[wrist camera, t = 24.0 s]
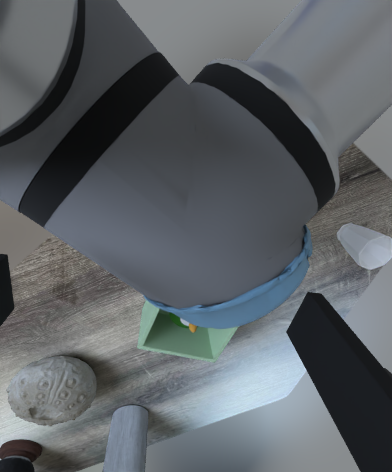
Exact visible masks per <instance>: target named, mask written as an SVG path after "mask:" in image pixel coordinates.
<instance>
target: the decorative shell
mask: <svg viewBox="0 0 392 472" xmlns="http://www.w3.org/2000/svg"><path fill="white" fill-rule="evenodd" d="M96 387H97V383H96V377H95V374H94V372H93V370H92V369H91V367H90V366H89V365H88V364H87V363H85V362H83V361H81V360H79V359H77V358H72V357H69V356H62V355H61V356H55V357H50V358H44V359H41V360H39V361H36V362H32V363H30V364H29V365H27V366H26V367H24V368H22V369H21V370H20V371H19V372H18V373H17V375H16V376H15V377H14V378H13V379H12V381H11V383H10V385H9V387H8V388H7V389H6V391H7V392H8V402H9V404H10V406H11V409H12V410H13V412H14V413H15V415H16V417H17V416H19V417H20V418H21V419H23V420H25V421H28V422H33V423H36V424H38V425H43V426H46V425H49V426H52V425H54V424H58V423H63V422H67V421H69V420H75V418H77V417H79V416H80V415H81V414H82V413H83V412H85V411H86V410H87V409H88V408H90V407H91V403H92V402H93V400H94V397H95V394H96Z"/></svg>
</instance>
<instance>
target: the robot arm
mask: <svg viewBox="0 0 392 472" xmlns="http://www.w3.org/2000/svg"><path fill="white" fill-rule="evenodd" d="M391 105H392V0H301V1H300V2H299V4H298V5H297V6H296V7H295V8H294V9H293V10H292V11H291V12H290V14H289V15H288V16H287V17H286V18H285V19H284V20H283V21H282V22H281V23H280V25H279V26H278V27H277V28H276V29H275V30H274V31H273V32H272V34H270V35H269V37H268V38H267V39H266V40H265V41H264V42H263V43H262V45H260V46H259V48H258V49H257V50H256V51H255V52H254V53H253V54H252V55H251V56H250V58H249V59H248V60H247V61H243V60H233V59H224V58H223V59H215V60H213V61H211V62H210V63H209V64H207V65H206V66H205V67H204V69H203V70H202V71H201V72H200V73H199V74H198V75H197V76H196V78H195V79H194V80H193V81H192V82H191V83H190V85H188V84H187V83H186V82H185V81H184V80H183V79H182V78H181V77H180V76H179V74H178V73H177V72H176V71H175V69H174V68H173V67H172V66H171V65H170V63H169V62H168V61H167V60H166V58H165V57H164V56H163V55H162V54H161V53H160V52H158V51H157V49H156V48H155V47H154V46H153V44H152V43H151V42H150V41H149V40H148V38H147V37H146V36H145V35H144V33H143V32H142V31H141V30H140V29H139V27H138V26H137V25H136V24H135V22H134V21H133V20H132V19H131V18H130V16H129V15H128V14H127V13H126V11H125V10H124V9H123V8H122V7H121V6H120V4H119V3H118V1H117V0H0V200H1V201H3V202H5V203H6V204H8V205H9V206H11V207H12V208H14V209H15V210H17V211H18V212H20V213H23V214H24V215H26V216H27V217H29V218H30V219H31V220H33V221H35V222H36V223H37V224H39V225H41V226H42V227H43V228H45V229H46V230H48V231H49V232H51V233H52V234H54V235H55V236H57V237H58V238H60V239H61V240H63V241H64V242H65V243H67V244H68V245H70V246H71V247H73V248H74V249H76V250H77V251H79V252H80V253H82V254H83V255H85V256H86V257H88V258H89V259H91V260H92V261H94V262H95V263H97V264H98V265H100V266H101V267H103V268H104V269H106V270H107V271H109V272H110V273H112V274H113V275H115V276H116V277H118V278H119V279H121V280H122V281H124V282H125V283H126V284H128V285H129V286H131V287H132V288H134V289H135V290H137V291H138V292H140V293H141V294H143V295H144V298H145V299H146V300H147V301H148V302H149V303H151V304H152V305H154V306H155V307H157V308H159V309H162V310H164V311H167V312H171V313H173V314H175V315H177V316H178V317H180V318H182V319H183V320H185V321H187V322H189V323H191V324H193V325H196V326H199V327H204V328H214V329H227V328H233V327H238V326H241V325H245V324H247V323H250V322H253V321H255V320H257V319H259V318H261V317H263V316H265V315H266V314H268V313H270V312H271V311H273V310H274V309H276V308H277V307H278V306H280V305H281V304H282V303H283V302H284V301H285V300H286V299H287V298H289V297H290V295H291V294H292V293H293V292H294V291H295V290H296V289H297V287H298V286H299V285H300V283H301V282H302V280H303V279H304V277H305V275H306V273H307V271H308V268H309V266H310V265H309V262H308V257H310V256H311V255H312V242H311V234H310V230H309V229H308V228H307V226H306V225H305V224H306V223H307V222H308V221H309V220H310V219H311V218H312V217H313V216H314V215H315V214H316V213H317V212H318V211H319V210H320V209H321V208H322V207H323V206H324V205H325V204H326V203H327V202H328V201H329V200H330V199H331V198H332V197H333V196H334V195H335V194H336V193H337V191H338V188H339V182H340V178H339V167H338V157H339V156H340V155H341V154H342V153H343V152H344V151H345V150H346V149H347V148H348V147H349V146H350V145H351V144H352V143H353V142H354V141H355V140H356V139H357V138H358V137H359V136H360V135H361V134H362V133H363V132H364V131H365V130H366V129H367V128H369V127H370V126H371V125H372V124H373V123H374V122H375V120H376V119H378V118H379V117H380V116H381V115H382V114H383V112H385V111H386V110H387V109H388V108H389V107H390V106H391ZM13 309H14V301H13V294H12V286H11V278H10V270H9V263H8V256H7V255H5V254H0V326H1V325H2V324H3V322H4V321H5V320H6V319H7V317H8V316H9V315H10V313H11V312H12V311H13ZM287 334H288V336H289V338H290V340H291V342H292V344H293V346H294V347H295V349H296V351H297V353H298V355H299V357H300V359H301V361H302V362H303V364H304V366H305V368H306V370H307V372H308V374H309V376H310V377H311V379H312V381H313V383H314V385H315V387H316V389H317V391H318V392H319V394H320V396H321V398H322V400H323V402H324V404H325V406H326V408H327V409H328V411H329V413H330V415H331V417H332V419H333V421H334V422H335V424H336V426H337V428H338V430H339V432H340V434H341V436H342V438H343V439H344V441H345V443H346V445H347V447H348V449H349V451H350V453H351V454H352V456H353V458H354V460H355V462H356V464H357V466H358V468H359V470H360V471H361V472H392V374H391V373H390V372H389V371H388V370H387V369H385V368H383V367H382V366H381V364H380V363H379V362H378V361H377V360H376V358H375V357H374V356H373V355H372V354H371V353H370V351H369V350H368V349H367V348H366V346H365V345H364V344H363V343H362V342H361V340H360V339H359V338H358V337H357V336H356V334H355V333H354V332H353V331H352V330H351V329H350V327H349V326H348V325H347V324H346V322H345V321H344V320H343V319H342V318H341V316H340V315H339V314H338V313H337V312H336V311H335V309H334V308H333V307H332V306H331V305H330V303H329V302H328V301H327V300H326V299H325V297H324V296H323V295H322V294H320V293H312V292H308V293H307V294H306V296H305V298H304V300H303V302H302V304H301V306H300V307H299V309H298V311H297V313H296V315H295V317H294V319H293V320H292V322H291V324H290V326H289V328H288V330H287Z"/></svg>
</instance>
